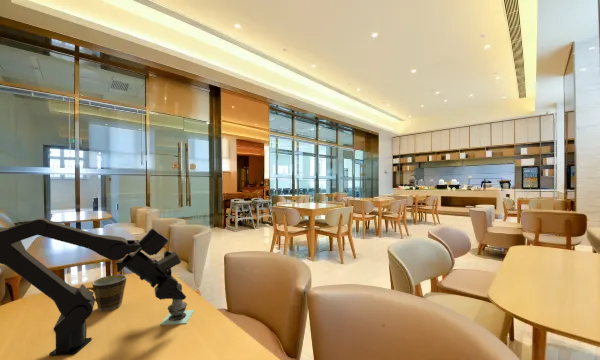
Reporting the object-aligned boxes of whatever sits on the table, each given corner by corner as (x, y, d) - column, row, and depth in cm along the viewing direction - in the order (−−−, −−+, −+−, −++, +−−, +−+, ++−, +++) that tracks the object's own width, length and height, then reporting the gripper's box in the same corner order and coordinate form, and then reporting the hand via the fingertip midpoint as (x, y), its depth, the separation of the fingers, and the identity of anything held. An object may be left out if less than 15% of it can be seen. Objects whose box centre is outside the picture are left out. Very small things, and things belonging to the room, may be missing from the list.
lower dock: (186, 323, 82) (186, 322, 82) (160, 325, 81) (160, 324, 81) (194, 310, 90) (194, 310, 90) (170, 312, 89) (170, 311, 89)
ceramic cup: (118, 298, 100) (118, 272, 100) (132, 304, 95) (131, 277, 95) (76, 313, 89) (76, 284, 89) (89, 321, 84) (89, 290, 84)
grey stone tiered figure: (175, 323, 81) (174, 285, 81) (163, 318, 84) (163, 282, 84) (190, 314, 87) (190, 279, 87) (179, 310, 89) (179, 276, 89)
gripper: (168, 252, 76) (207, 281, 82) (161, 240, 91) (194, 265, 97) (137, 285, 71) (180, 313, 77) (135, 266, 87) (171, 291, 93)
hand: (182, 293), depth 86 cm, fingers open, 9 cm apart
